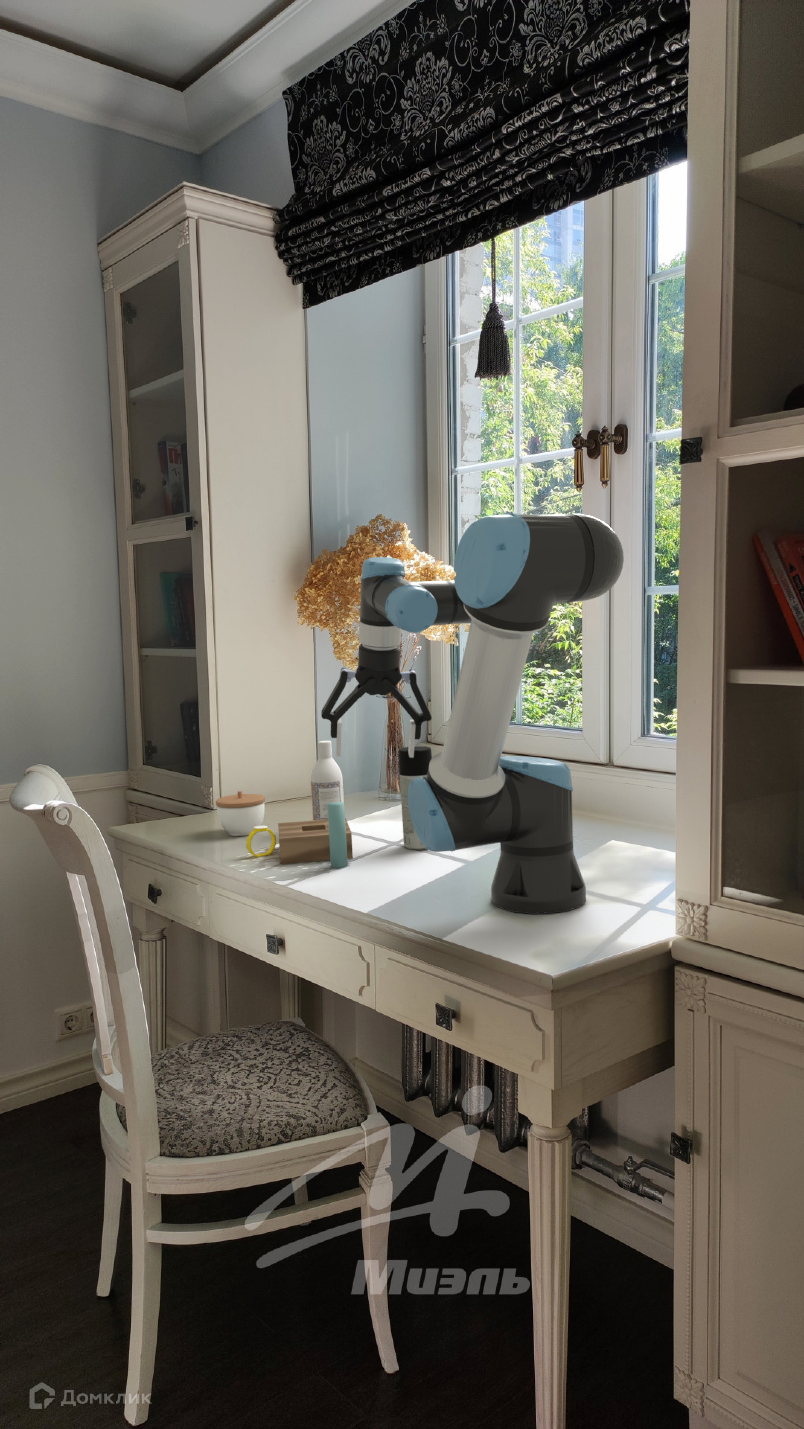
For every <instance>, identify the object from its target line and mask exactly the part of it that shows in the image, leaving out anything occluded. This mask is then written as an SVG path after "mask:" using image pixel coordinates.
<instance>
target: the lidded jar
mask: <svg viewBox="0 0 804 1429" xmlns="http://www.w3.org/2000/svg"><path fill="white" fill-rule="evenodd" d="M236 793H237V794H230V795H226V796H221V797H220V798H217V799H216V800H215V805H216V806H215V807H216V813H217V814H216V815H217V819H218V822H219V824H220V826H221V827H222V828H223V830H225V832H227V833H228V835H229V836H234V837H240V836H241V837H242V836H249V834H250V833H251V832H252V831H253V830H254V827H255V826H262V823H264V820H265V811H266V810H265V808H266V806H265V805H266V804H265V802H266V798H265V796H264V795H262V794H258V793H243V790H238V791H237V792H236Z"/></svg>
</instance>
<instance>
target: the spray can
mask: <svg viewBox="0 0 804 1429" xmlns="http://www.w3.org/2000/svg"><path fill="white" fill-rule="evenodd" d="M408 747H409V746H404V747H402V748H400V749H399V750H398V766H399V770H398V771H399V784H400V802H401V803H400V804H401V805H400V806H401V819H402V834H403V836H402V837H403V846H404V848H406V849H407V850H413V851H415V850H416V851H418V850H419V851H421V850H423V851H424V850H428V849H427V848H426V847H425V846H424V845H423V844H422V843H421V841H420V840H419V838H418V836H417V834H416V832H415V829H414V827H413V824H412V820H411V816H410V812H409V806H408V788H409V784H410V782H411V781H412V780H413V779H415V778H418V777H419V776H421V777H426V776H427V773H428V768H429V764H430V761H431V759H432V758H433V755H432V748H431V747H430V746H427V745H426V746H423V745H422V746H418V745H417V746H416V745H414V758H412V757H409V753H408Z"/></svg>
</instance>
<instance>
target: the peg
mask: <svg viewBox="0 0 804 1429" xmlns="http://www.w3.org/2000/svg"><path fill="white" fill-rule="evenodd" d="M327 808H328V826H329V843H330V860H329V861H330V867H331V868H332V869H344V868H347V867H348V866H349V865H348V864H349V863H348V859H347V843H346V825H345V818H346V812H345V811H346V809H345V802H344V803H343V802H331V803H328V804H327Z"/></svg>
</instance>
